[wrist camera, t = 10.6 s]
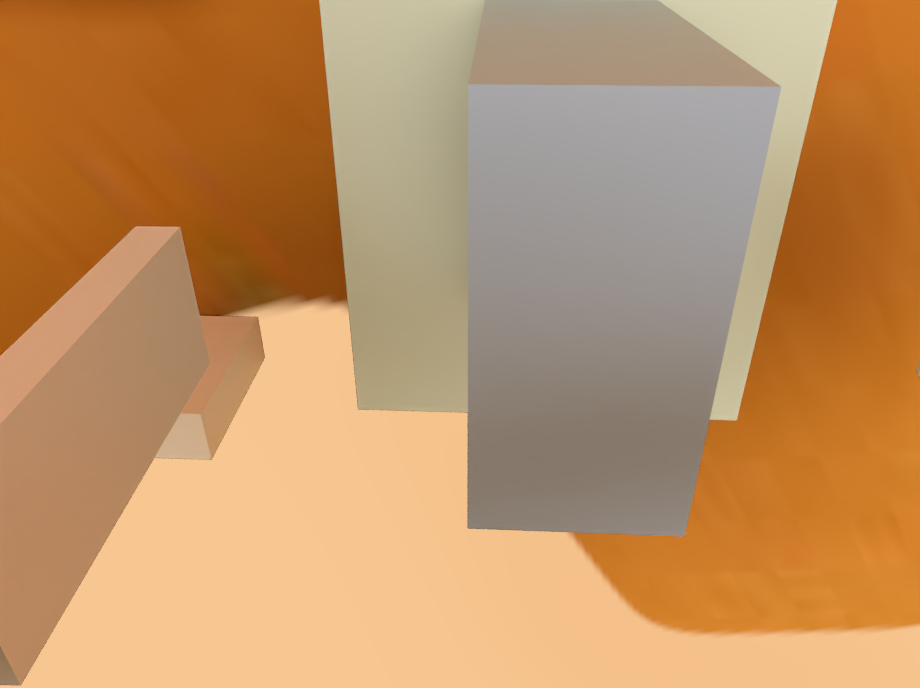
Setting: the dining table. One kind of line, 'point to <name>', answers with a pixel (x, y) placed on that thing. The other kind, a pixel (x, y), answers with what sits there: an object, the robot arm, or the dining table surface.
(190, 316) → the robot arm
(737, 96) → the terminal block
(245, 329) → the white rectangular blocks
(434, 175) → the sage mat
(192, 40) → the dining table surface
